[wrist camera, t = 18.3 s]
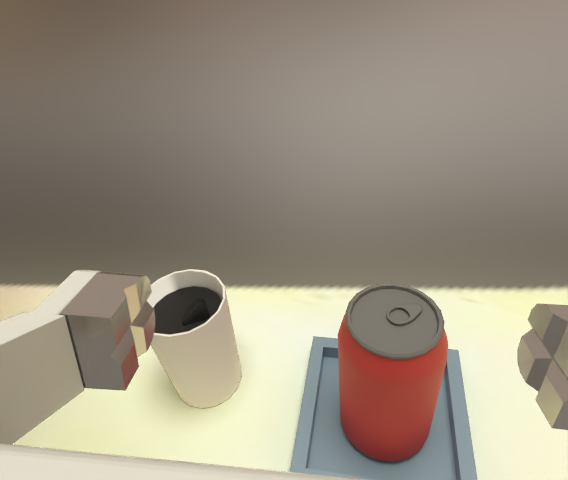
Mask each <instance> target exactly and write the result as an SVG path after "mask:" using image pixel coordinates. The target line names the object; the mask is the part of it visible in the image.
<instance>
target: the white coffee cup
mask: <svg viewBox="0 0 568 480" xmlns="http://www.w3.org/2000/svg"><path fill="white" fill-rule="evenodd" d="M151 291H152V293H151V294H150V296H149V298H148V299H147V302H148V303H149V304H150V305H151V306H152V307H153V308H154V312H155V331H154V335H153V339H152V342H151V344H150V345H151V346H152V348H153V350H154V352H155V353H156V355H157V357H158V359H159V360H160V362H161V364H162V366H163V367H164V369H165V371H166V373H167V374H168V376H169V378H170V380H171V382H172V383H173V385H174V387H175V389H176V390H177V392H178V394H179V396H180V397H181V399H182V400H183V401H184V402H186V403H187V404H188V405H190V406H192V407H198V408H208V407H213V406H217V405H219V404H221V403H222V402H224V401H226V400H227V399H229V398H230V397H231V396H232V394H233V393H234V392H235V391H236V390H237V389H238V386H239V383H240V380H241V377H242V376H241V366H240V361H239V356H238V351H237V346H236V341H235V336H234V331H233V326H232V321H231V316H230V311H229V306H228V301H227V296H226V291H225V286H224V285H223V283H222V282H221V281H220V279H219V278H218V277H217V276H215V275H213V274H211V273H209V272H207V271H203V270H193V269H189V270H184V271H178V272H174V273H171V274H169V275H167V276H165V277H162V278H160V279H159V280H157V281H156V282H154V283H153V284H152V285H151Z"/></svg>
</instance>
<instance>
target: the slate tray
mask: <svg viewBox="0 0 568 480" xmlns="http://www.w3.org/2000/svg"><path fill="white" fill-rule="evenodd" d="M290 472H295V473H305V474H316V475H326V476H336V477H346V478H356V479H367V480H477V474H476V467H475V460H474V453H473V447H472V440H471V433H470V426H469V420H468V413H467V406H466V399H465V392H464V386H463V379H462V372H461V365H460V358H459V352H458V350H452V349H448V353H447V361H446V366H445V370H444V374H443V378H442V382H441V386H440V390H439V395H438V399H437V403H436V407H435V411H434V415H433V419H432V424H431V428H430V432H429V436H428V438H427V440H426V442H425V443H424V445H423V447H422V448H421V449H420V450H419V451H418V452H416V453H415V454H414V455H413V456H412V457H409V458H406V459H403V460H400V461H381V460H378V459H375V458H372V457H369V456H367V455H365V454H364V453H363V452H361V451H360V450H358V449H357V448H355V447H354V445H353V444H352V443H351V442H350V440H349V439H348V438H347V437H346V435H345V432H344V430H343V427H342V425H341V419H340V394H339V360H338V339H336V338H325V337H315V336H313V342H312V347H311V353H310V359H309V365H308V370H307V376H306V382H305V388H304V394H303V399H302V405H301V411H300V417H299V422H298V428H297V434H296V440H295V445H294V451H293V457H292V463H291V468H290Z"/></svg>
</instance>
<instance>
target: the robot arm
mask: <svg viewBox="0 0 568 480" xmlns="http://www.w3.org/2000/svg"><path fill="white" fill-rule="evenodd" d="M151 293H152V291H151V285H150V280H149V279H148V277H147V276H146V275H135V274H125V273H114V272H103V271H102V272H100V271H91V270H77V271H74V272H73V273H72V274H71V275H70V276H69V277H68V278H67V279H66V280H65V281H64V282H63V283H61V284H60V285H59V286H58V287H57V288H56V289H55V290H54V291H53V292H52V293H51V294H50V295H49V296H48V297H47V298H46V299H45V300H44V301H43V302H42V303H41V304H40V305H39V306H38V307H37V308H36V309H35V310H34V311H33V312H32V313H27V312H23V313H21V314H18V315H16V316H13V317H11V318H9V319H6V320H4V321H1V322H0V480H367V479H356V478H346V477H336V476H326V475H316V474H305V473H295V472H285V471H275V470H264V469H254V468H244V467H234V466H224V465H213V464H203V463H193V462H183V461H173V460H163V459H152V458H142V457H132V456H122V455H112V454H101V453H91V452H81V451H71V450H61V449H50V448H40V447H30V446H20V445H11V444H13V443H14V442H15V441H17V440H18V439H19V438H21V437H22V436H23V435H25V434H26V433H27V432H29V431H30V430H31V429H33V428H34V427H36V426H37V425H38V424H40V423H41V422H42V421H44V420H45V419H46V418H48V417H49V416H50V415H52V414H53V413H54V412H56V411H57V410H58V409H60V408H61V407H62V406H64V405H65V404H66V403H68V402H69V401H70V400H72V399H73V398H74V397H76V396H77V395H79V394H80V393H81V392H83V391H84V388H93V389H110V390H126V389H127V387H128V385H129V383H130V381H131V379H132V378H133V376H134V374H135V372H136V370H137V369H138V367H139V365H138V359H137V357H138V356H140V355H142V354H143V353H145V352H146V351H147V350H148V348H149V346H150V344H151V342H152V339H153V335H154V331H155V312H154V308H153V307H152V306H151V305H150V304H149V303H148V302H147V299H148V298H149V296H150V294H151ZM528 321H529V323H530V325H531V327H532V330H530V331H529V332H527V333H526V334H525V335H523V336H522V337H521V340H520V343H519V347H518V366H519V369H520V373H521V375H522V376H523V378H524V380H525V382H526V383H527V384H529V385H530V386H531V387H533V388H534V389H536V390H537V391H538V395H537V397H536V401H537V403H538V405H539V407H540V408H541V410H542V412H543V414H544V415H545V417H546V419H547V421H548V422H549V424H550V426H551V428H555V429H564V430H568V305H553V304H536V306H535V307H534V308H533V309H532V311H531V313H530V316H529V318H528Z"/></svg>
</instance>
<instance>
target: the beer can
mask: <svg viewBox="0 0 568 480" xmlns="http://www.w3.org/2000/svg"><path fill="white" fill-rule="evenodd" d="M447 353H448V341H447V336H446V333H445V330H444V320H443V316H442V313H441V310H440V309H439V307H438V306H437V305H436V304H435V302H434V301H433V300H432V299H431V298H429V297H428V296H427V295H425V294H424V293H423V292H421V291H419V290H417V289H414V288H412V287H409V286H405V285H400V284H395V283H393V284H392V283H391V284H378V285H374V286H371V287H367V288H365V289H364V290H362V291H360V292H359V293H357V294H356V295H355V296H354V297H353V298H352V300H351V301H350V302H349V304H348V307H347V310H346V314H345V315H344V318H343V320H342V323H341V326H340V329H339V332H338V360H339V394H340V419H341V425H342V427H343V430H344V432H345V435H346V437H347V438H348V439H349V440H350V442H351V443H352V444H353V445H354V447H355V448H357V449H358V450H360V451H361V452H363V453H364V454H365V455H367V456H369V457H372V458H375V459H378V460H381V461H400V460H403V459H406V458H409V457H412V456H413V455H414V454H415V453H416V452H418V451H419V450H420V449H421V448H422V447H423V445H424V443H425V442H426V440H427V438H428V436H429V432H430V428H431V424H432V419H433V415H434V411H435V407H436V403H437V399H438V395H439V390H440V386H441V382H442V378H443V374H444V370H445V366H446V361H447Z"/></svg>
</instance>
